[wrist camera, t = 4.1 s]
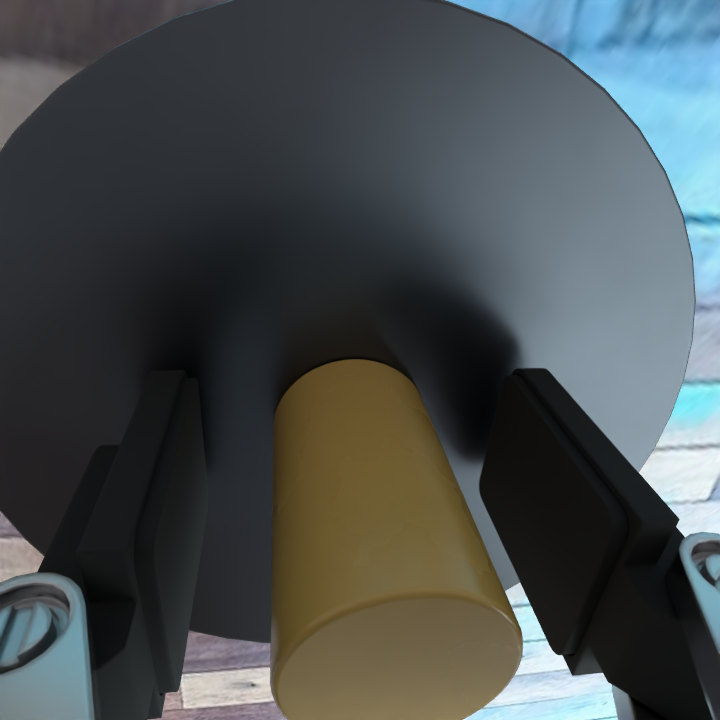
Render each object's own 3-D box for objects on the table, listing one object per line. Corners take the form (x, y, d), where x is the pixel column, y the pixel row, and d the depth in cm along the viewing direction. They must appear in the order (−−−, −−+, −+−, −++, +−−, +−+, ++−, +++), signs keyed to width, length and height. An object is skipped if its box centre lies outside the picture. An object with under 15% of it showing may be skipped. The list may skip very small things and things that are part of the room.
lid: (57, 626, 14) (-80, 978, 8) (-166, -58, 7) (-1628, -457, 2) (564, 588, 16) (706, 849, 11) (778, 38, 9) (1477, 6, 4)
